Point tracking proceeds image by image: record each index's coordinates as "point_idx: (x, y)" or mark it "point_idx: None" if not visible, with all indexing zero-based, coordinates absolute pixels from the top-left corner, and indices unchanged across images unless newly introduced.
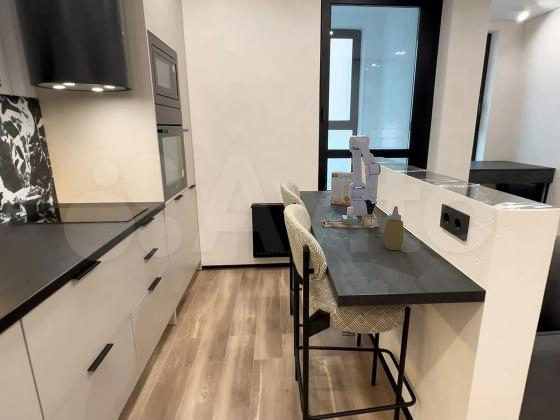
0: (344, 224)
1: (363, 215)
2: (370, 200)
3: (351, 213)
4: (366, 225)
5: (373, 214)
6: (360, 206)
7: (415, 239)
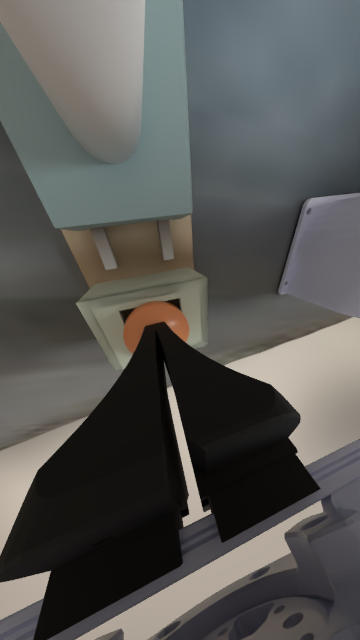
0: None
1: (158, 286)
2: (80, 618)
3: (28, 65)
4: None
5: None
6: (352, 267)
7: (30, 435)
